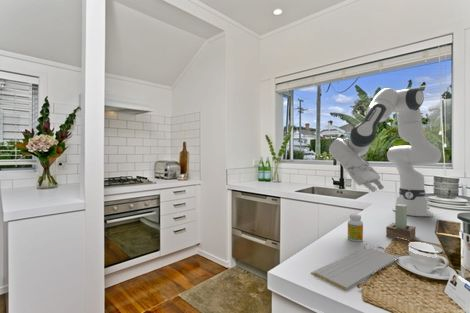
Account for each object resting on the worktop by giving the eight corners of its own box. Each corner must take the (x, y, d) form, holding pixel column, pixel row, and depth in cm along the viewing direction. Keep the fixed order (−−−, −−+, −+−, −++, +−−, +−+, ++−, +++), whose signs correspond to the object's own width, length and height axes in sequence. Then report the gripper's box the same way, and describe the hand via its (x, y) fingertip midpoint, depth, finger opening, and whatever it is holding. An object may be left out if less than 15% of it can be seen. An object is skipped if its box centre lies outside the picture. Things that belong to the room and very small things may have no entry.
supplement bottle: (348, 240, 94) (348, 216, 93) (347, 236, 99) (347, 213, 98) (363, 242, 92) (364, 217, 91) (361, 238, 97) (362, 214, 96)
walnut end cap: (393, 231, 105) (393, 222, 105) (415, 236, 99) (415, 226, 99) (386, 236, 99) (386, 226, 99) (409, 241, 93) (409, 231, 93)
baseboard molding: (306, 273, 69) (346, 293, 59) (306, 263, 69) (346, 282, 59) (361, 248, 87) (399, 261, 77) (361, 241, 87) (399, 252, 77)
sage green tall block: (398, 232, 101) (398, 203, 101) (406, 233, 99) (406, 205, 99) (395, 234, 99) (395, 205, 98) (403, 236, 96) (404, 206, 96)
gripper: (351, 162, 103) (376, 187, 96) (369, 161, 117) (391, 183, 110) (341, 172, 107) (364, 197, 100) (359, 170, 120) (380, 191, 113)
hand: (378, 189), depth 105 cm, fingers open, 8 cm apart
